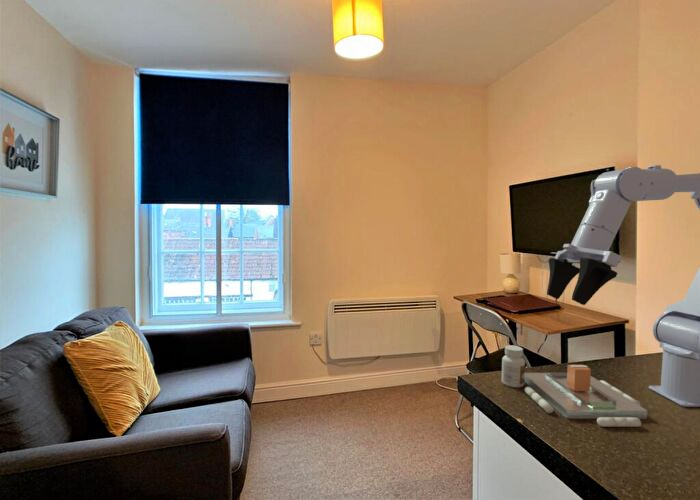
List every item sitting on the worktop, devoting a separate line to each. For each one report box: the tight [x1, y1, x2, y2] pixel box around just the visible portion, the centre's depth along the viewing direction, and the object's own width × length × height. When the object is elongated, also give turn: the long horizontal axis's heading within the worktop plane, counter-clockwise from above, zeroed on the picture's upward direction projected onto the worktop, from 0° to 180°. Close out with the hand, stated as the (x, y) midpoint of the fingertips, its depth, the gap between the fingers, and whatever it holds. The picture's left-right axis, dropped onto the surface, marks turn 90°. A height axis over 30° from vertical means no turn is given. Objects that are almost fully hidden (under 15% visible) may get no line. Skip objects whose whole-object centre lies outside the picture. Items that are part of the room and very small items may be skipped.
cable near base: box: [599, 379, 642, 407], centre depth 71 cm, size 1×10×1 cm, turn 0°
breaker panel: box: [524, 371, 648, 420], centre depth 71 cm, size 14×16×2 cm
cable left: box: [596, 417, 642, 428], centre depth 60 cm, size 7×1×1 cm, turn 90°
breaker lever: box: [566, 364, 592, 391], centre depth 70 cm, size 3×2×4 cm
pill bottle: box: [500, 344, 526, 388], centre depth 76 cm, size 4×4×8 cm
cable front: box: [524, 386, 555, 414], centre depth 69 cm, size 1×8×1 cm, turn 0°
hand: (564, 299), depth 65 cm, fingers open, 7 cm apart
